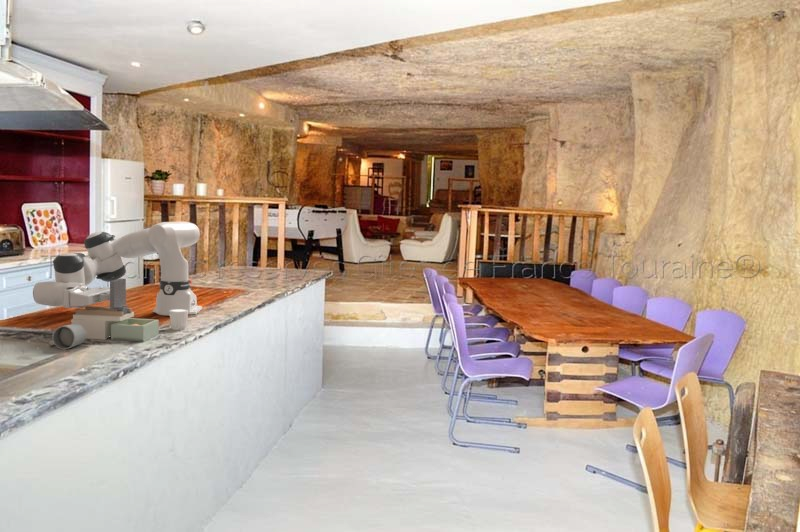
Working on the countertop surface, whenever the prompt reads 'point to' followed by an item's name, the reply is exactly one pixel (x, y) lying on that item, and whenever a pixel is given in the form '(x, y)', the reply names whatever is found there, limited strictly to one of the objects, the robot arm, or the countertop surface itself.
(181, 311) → the white tapered cup
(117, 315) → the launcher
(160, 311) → the robot arm
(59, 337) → the grey tipped cup
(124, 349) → the countertop surface
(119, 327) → the sage green tray
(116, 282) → the gray upright panel
